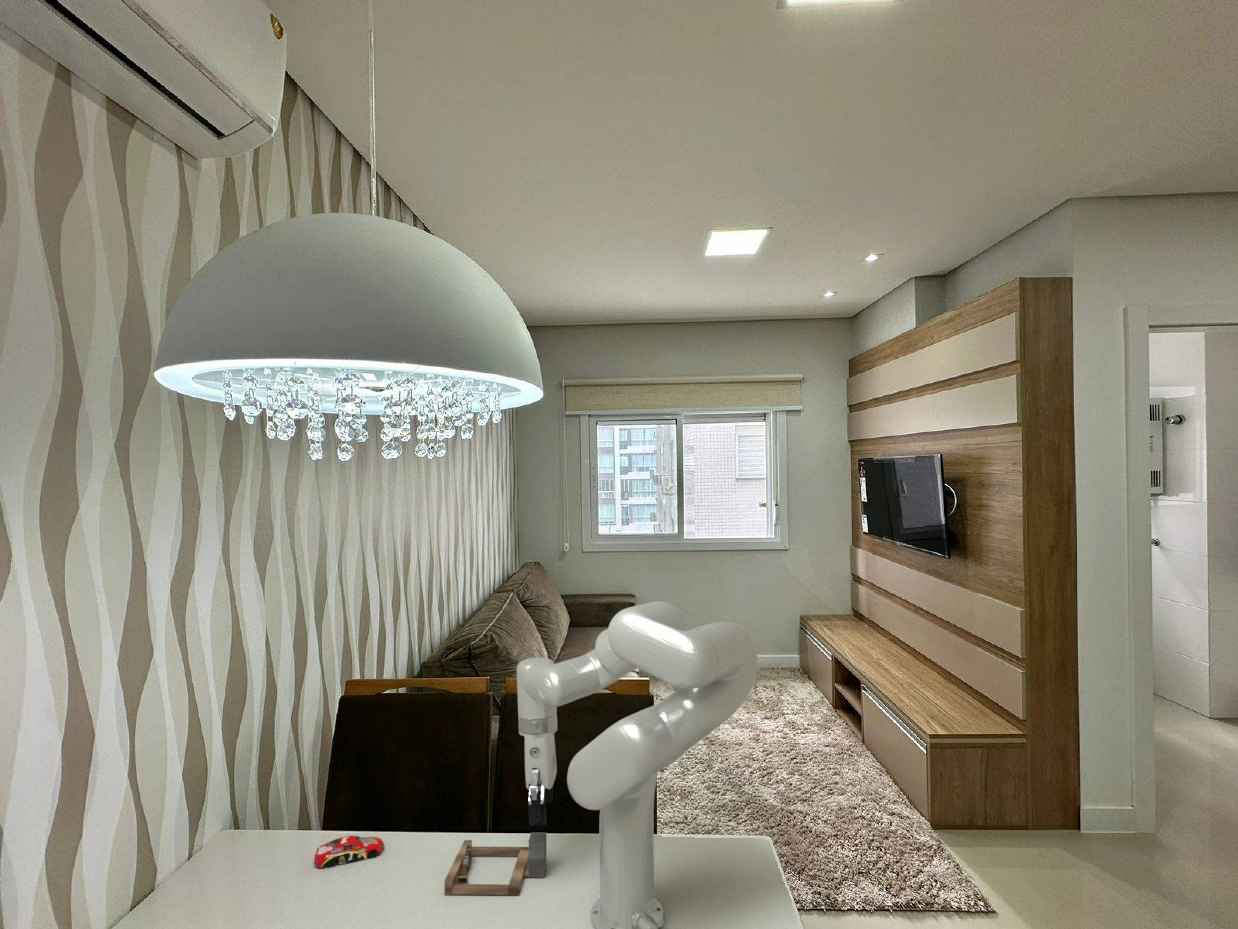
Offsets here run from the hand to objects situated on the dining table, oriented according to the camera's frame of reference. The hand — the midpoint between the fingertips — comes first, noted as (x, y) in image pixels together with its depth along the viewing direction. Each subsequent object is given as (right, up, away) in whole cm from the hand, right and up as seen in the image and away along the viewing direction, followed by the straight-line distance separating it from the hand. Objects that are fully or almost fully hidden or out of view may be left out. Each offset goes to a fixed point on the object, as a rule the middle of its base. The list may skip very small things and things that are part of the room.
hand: (541, 813), depth 132 cm
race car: (-40, -13, +7) cm, 43 cm away
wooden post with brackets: (-15, -12, 0) cm, 20 cm away
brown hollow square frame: (-8, -12, 0) cm, 14 cm away
